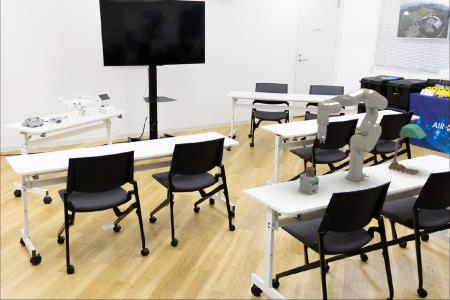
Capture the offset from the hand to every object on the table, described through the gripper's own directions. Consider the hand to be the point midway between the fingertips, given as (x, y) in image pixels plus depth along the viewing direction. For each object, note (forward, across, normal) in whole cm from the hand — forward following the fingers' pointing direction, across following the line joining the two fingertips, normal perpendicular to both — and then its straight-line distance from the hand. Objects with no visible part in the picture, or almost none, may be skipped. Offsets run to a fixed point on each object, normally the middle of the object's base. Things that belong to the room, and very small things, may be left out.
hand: (321, 146), depth 297 cm
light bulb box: (+27, +14, -8) cm, 31 cm away
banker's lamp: (+30, -42, +67) cm, 84 cm away
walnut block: (+16, +14, -8) cm, 22 cm away
